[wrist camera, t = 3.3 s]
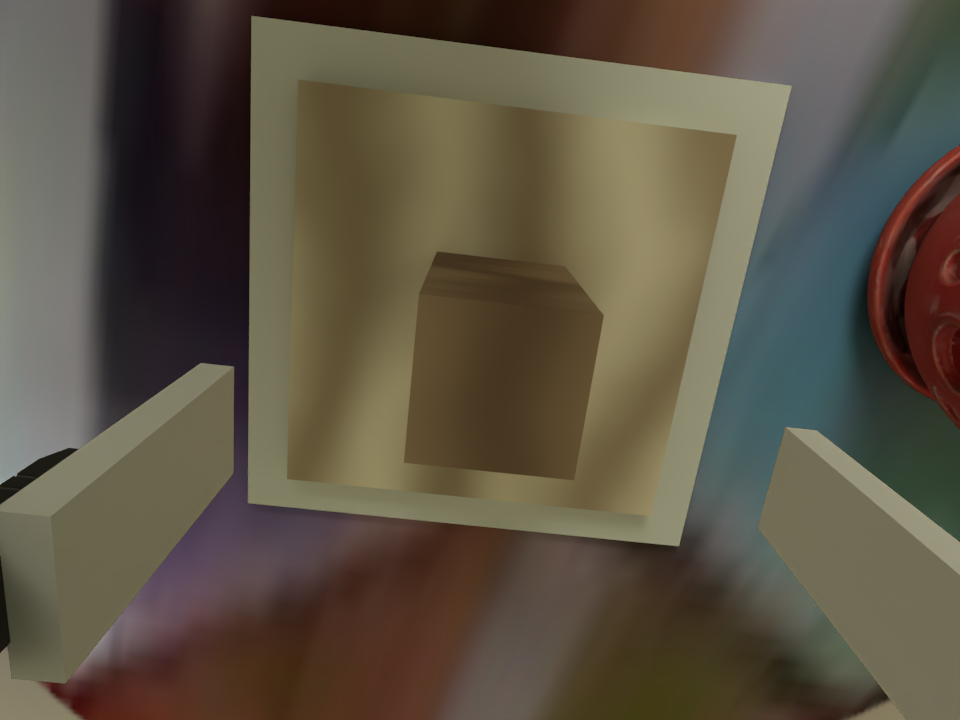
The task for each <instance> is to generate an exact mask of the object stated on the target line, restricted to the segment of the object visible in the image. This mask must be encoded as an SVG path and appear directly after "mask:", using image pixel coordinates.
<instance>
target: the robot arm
mask: <svg viewBox="0 0 960 720" xmlns="http://www.w3.org/2000/svg"><path fill="white" fill-rule="evenodd" d="M233 466H234V367H232V366H223V365H214V364H205V363H200V364H199V365H197V366H196V367H194V368H193V369H192V370H190V371H189V372H187V373H186V374H185V375H183V376H182V377H180V378H179V379H177V380H176V381H175V382H173V383H172V384H170V385H169V386H168V387H166V388H165V389H163V390H162V391H160V392H159V393H158V394H156V395H155V396H153V397H152V398H151V399H149V400H148V401H146V402H145V403H143V404H142V405H141V406H139V407H138V408H136V409H135V410H134V411H132V412H131V413H129V414H128V415H126V416H125V417H124V418H122V419H121V420H119V421H118V422H117V423H115V424H114V425H112V426H111V427H109V428H108V429H107V430H105V431H104V432H102V433H101V434H100V435H98V436H97V437H95V438H94V439H92V440H91V441H90V442H88V443H87V444H85V445H84V446H83V447H81V448H80V449H73V448H68V449H65V450H62V451H60V452H57V453H54V454H51V455H49V456H46V457H43V458H41V459H38V460H37V461H35V462H34V463H32V464H31V465H29V466H28V467H26V468H25V469H23V470H22V471H20V472H19V473H17V477H15V476H13V477H11V478H10V479H8V480H7V481H5V482H4V483H2V484H1V485H0V652H1V651H2V650H3V649H4V648H5V647H6V646H7V645H8V652H9V660H10V669H11V678H12V679H22V680H32V681H43V682H54V683H66V682H67V681H68V680H69V678H70V677H71V676H72V675H73V673H74V672H75V671H76V670H77V668H78V667H79V666H80V665H81V663H82V662H83V661H84V660H85V658H86V657H87V656H88V655H89V653H90V652H91V651H92V650H93V648H94V647H95V646H96V645H97V643H98V642H99V641H100V640H101V638H102V637H103V636H104V635H105V633H106V632H107V631H108V630H109V628H110V627H111V626H112V625H113V623H114V622H115V621H116V620H117V618H118V617H119V616H120V615H121V613H122V612H123V611H124V610H125V608H126V607H127V606H128V605H129V603H130V602H131V601H132V600H133V598H134V597H135V596H136V595H137V593H138V592H139V591H140V590H141V588H142V587H143V586H144V585H145V583H146V582H147V581H148V580H149V578H150V577H151V576H152V575H153V573H154V572H155V571H156V570H157V568H158V567H159V566H160V565H161V563H162V562H163V561H164V560H165V558H166V557H167V556H168V555H169V553H170V552H171V551H172V550H173V548H174V547H175V546H176V545H177V543H178V542H179V541H180V540H181V538H182V537H183V536H184V535H185V533H186V532H187V531H188V530H189V528H190V527H191V526H192V525H193V523H194V522H195V521H196V520H197V518H198V517H199V516H200V515H201V513H202V512H203V511H204V510H205V508H206V507H207V506H208V505H209V503H210V502H211V501H212V500H213V498H214V497H215V496H216V495H217V493H218V492H219V491H220V490H221V488H222V487H223V486H224V485H225V483H226V482H227V481H228V480H229V478H230V477H231V476H232V475H233ZM758 529H759V530H760V531H761V533H762V534H763V535H764V537H765V538H766V539H767V540H768V542H769V543H770V544H771V546H772V547H773V548H774V549H775V551H776V552H777V553H778V555H779V556H780V557H781V559H782V560H783V561H784V562H785V564H786V565H787V566H788V568H789V569H790V570H791V571H792V573H793V574H794V575H795V577H796V578H797V579H798V581H799V582H800V583H801V584H802V586H803V587H804V588H805V590H806V591H807V592H808V593H809V595H810V596H811V597H812V599H813V600H814V601H815V603H816V604H817V605H818V606H819V608H820V609H821V610H822V612H823V613H824V614H825V615H826V617H827V618H828V619H829V621H830V622H831V623H832V625H833V626H834V627H835V628H836V630H837V631H838V632H839V634H840V635H841V636H842V637H843V639H844V640H845V641H846V643H847V644H848V645H849V647H850V648H851V649H852V650H853V652H854V653H855V654H856V656H857V657H858V658H859V659H860V661H861V662H862V663H863V665H864V666H865V667H866V669H867V670H868V671H869V672H870V674H871V675H872V676H873V678H874V679H875V680H876V681H877V683H878V684H879V685H880V687H881V688H882V689H883V691H884V692H885V693H886V694H887V696H888V697H889V698H890V700H891V701H892V702H893V703H894V704H895V706H896V707H897V709H898V710H899V711H900V713H901V714H902V715H903V716H904V718H905V719H906V720H960V542H959V541H958V540H956V539H955V538H954V537H952V536H951V535H950V534H949V533H947V532H946V531H945V530H943V529H942V528H941V527H940V526H938V525H937V524H936V523H934V522H933V521H932V520H931V519H929V518H928V517H927V516H926V515H924V514H923V513H922V512H920V511H919V510H918V509H917V508H915V507H914V506H913V505H911V504H910V503H909V502H908V501H906V500H905V499H904V498H902V497H901V496H900V495H899V494H897V493H896V492H895V491H893V490H892V489H891V488H890V487H888V486H887V485H886V484H885V483H883V482H882V481H881V480H879V479H878V478H877V477H876V476H874V475H873V474H872V473H870V472H869V471H868V470H867V469H865V468H864V467H863V466H861V465H860V464H859V463H858V462H856V461H855V460H854V459H852V458H851V457H850V456H849V455H847V454H846V453H845V452H844V451H842V450H841V449H840V448H838V447H837V446H836V445H835V444H833V443H832V442H831V441H829V440H828V439H827V438H826V437H824V436H823V435H822V434H820V433H819V432H818V431H817V430H807V429H798V428H789V427H785V431H784V434H783V438H782V441H781V445H780V449H779V452H778V456H777V460H776V463H775V467H774V470H773V474H772V478H771V481H770V485H769V489H768V492H767V496H766V499H765V503H764V507H763V510H762V514H761V518H760V521H759V525H758Z"/></svg>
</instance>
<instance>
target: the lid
mask: <svg viewBox="0 0 960 720" xmlns="http://www.w3.org/2000/svg"><path fill="white" fill-rule="evenodd" d="M736 137H737V135H734V134H726V133H718V132H710V131H702V130H694V129H686V128H678V127H670V126H662V125H654V124H646V123H638V122H631V121H623V120H615V119H607V118H599V117H591V116H583V115H575V114H567V113H559V112H551V111H543V110H536V109H528V108H520V107H512V106H504V105H496V104H488V103H480V102H472V101H464V100H456V99H448V98H440V97H433V96H425V95H417V94H409V93H401V92H393V91H385V90H377V89H369V88H361V87H353V86H345V85H337V84H330V83H322V82H314V81H306V80H298V100H297V136H296V171H295V207H294V243H293V278H292V314H291V350H290V385H289V421H288V457H287V479H291V480H300V481H310V482H320V483H330V484H340V485H350V486H359V487H369V488H379V489H389V490H399V491H409V492H418V493H428V494H438V495H448V496H458V497H468V498H477V499H487V500H497V501H507V502H517V503H527V504H536V505H546V506H556V507H566V508H576V509H586V510H595V511H605V512H615V513H625V514H635V515H645V516H651V513H652V509H653V504H654V500H655V495H656V491H657V487H658V482H659V478H660V473H661V469H662V465H663V460H664V456H665V451H666V447H667V442H668V438H669V434H670V429H671V425H672V420H673V416H674V411H675V407H676V403H677V398H678V394H679V389H680V385H681V380H682V376H683V372H684V367H685V363H686V358H687V354H688V349H689V345H690V341H691V336H692V332H693V327H694V323H695V318H696V314H697V310H698V305H699V301H700V296H701V292H702V287H703V283H704V279H705V274H706V270H707V265H708V261H709V256H710V252H711V248H712V243H713V239H714V234H715V230H716V226H717V221H718V217H719V212H720V208H721V203H722V199H723V195H724V190H725V186H726V181H727V177H728V172H729V168H730V164H731V159H732V155H733V150H734V146H735V141H736Z"/></svg>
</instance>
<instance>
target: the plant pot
mask: <svg viewBox="0 0 960 720" xmlns="http://www.w3.org/2000/svg"><path fill="white" fill-rule="evenodd" d="M867 305H868V314H869V321H870V325H871V329H872V332H873V335H874V338H875V340H876V343H877V345H878V347H879V349H880V351H881V353H882V355H883V356H884V358H885V359H886V361H887V362H888V364H889V365H890V366H891V368H892V369H893V370H894V371H895V373H896V374H897V375H898V376H899V377H901V378H902V379H903V380H904V381H905V382H906V383H907V384H908V385H910V386H911V387H912V388H914V389H915V390H916V391H918V392H920V393H921V394H923V395H925V396H927V397H929V398H931V399H933V400H935V401H937V403H938V404H939V405H940V407H941V408H942V409H943V411H944V412H945V413H946V414H947V416H948V417H949V418H950V419H951V420H952V421H953V423H954V424H955V425H956V426H957V427H958V428H959V429H960V145H959V146H958V147H956V148H955V149H953V150H951V151H950V152H948V153H947V154H946V155H945V156H943V157H942V158H941V159H940V160H938V161H937V162H936V163H934V164H933V165H932V166H931V167H930V168H929V169H928V170H927V171H926V172H925V173H924V174H923V175H922V176H921V177H920V178H919V179H918V180H917V181H916V182H915V183H914V184H913V185H912V187H911V188H910V189H909V190H908V191H907V193H906V194H905V195H904V197H903V198H902V199H901V201H900V202H899V203H898V205H897V206H896V208H895V209H894V211H893V212H892V214H891V216H890V217H889V219H888V221H887V223H886V225H885V227H884V229H883V231H882V233H881V235H880V238H879V240H878V243H877V246H876V248H875V251H874V254H873V257H872V261H871V265H870V273H869V276H868V288H867Z"/></svg>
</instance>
